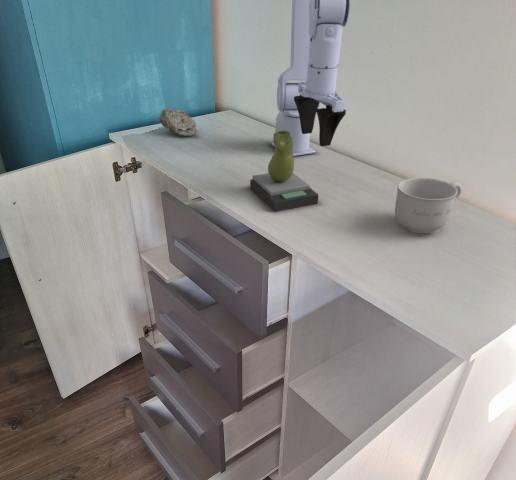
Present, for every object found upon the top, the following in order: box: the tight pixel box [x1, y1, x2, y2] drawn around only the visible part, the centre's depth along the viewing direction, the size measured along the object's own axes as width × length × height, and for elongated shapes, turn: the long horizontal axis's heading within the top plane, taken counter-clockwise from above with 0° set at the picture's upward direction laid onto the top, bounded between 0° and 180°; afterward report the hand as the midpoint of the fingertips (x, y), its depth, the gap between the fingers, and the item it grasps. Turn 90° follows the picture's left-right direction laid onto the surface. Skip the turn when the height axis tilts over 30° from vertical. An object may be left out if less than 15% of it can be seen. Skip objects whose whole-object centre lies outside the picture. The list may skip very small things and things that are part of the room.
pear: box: [267, 130, 295, 182], centre depth 103 cm, size 6×5×10 cm
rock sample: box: [157, 107, 199, 137], centre depth 134 cm, size 10×8×9 cm
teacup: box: [394, 177, 463, 234], centre depth 96 cm, size 14×11×8 cm
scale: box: [249, 172, 319, 212], centre depth 106 cm, size 12×10×3 cm
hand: (315, 139), depth 104 cm, fingers open, 7 cm apart
